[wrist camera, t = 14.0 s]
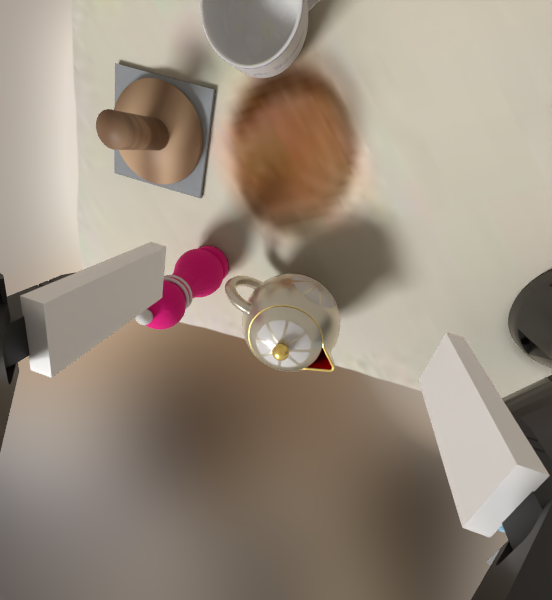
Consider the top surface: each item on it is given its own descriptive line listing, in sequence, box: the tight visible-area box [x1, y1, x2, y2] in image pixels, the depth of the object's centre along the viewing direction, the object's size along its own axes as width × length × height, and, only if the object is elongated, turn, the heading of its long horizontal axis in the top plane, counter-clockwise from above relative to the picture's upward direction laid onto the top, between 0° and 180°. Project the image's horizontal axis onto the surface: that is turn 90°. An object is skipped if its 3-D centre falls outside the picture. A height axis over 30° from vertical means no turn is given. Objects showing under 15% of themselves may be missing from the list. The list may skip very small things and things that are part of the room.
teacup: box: [200, 0, 321, 78], centre depth 34 cm, size 14×11×8 cm
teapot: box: [225, 274, 340, 372], centre depth 44 cm, size 18×14×16 cm
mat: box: [115, 63, 215, 198], centre depth 45 cm, size 14×14×1 cm
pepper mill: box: [136, 246, 229, 329], centre depth 43 cm, size 7×7×20 cm
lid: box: [96, 78, 204, 184], centre depth 40 cm, size 13×13×10 cm
